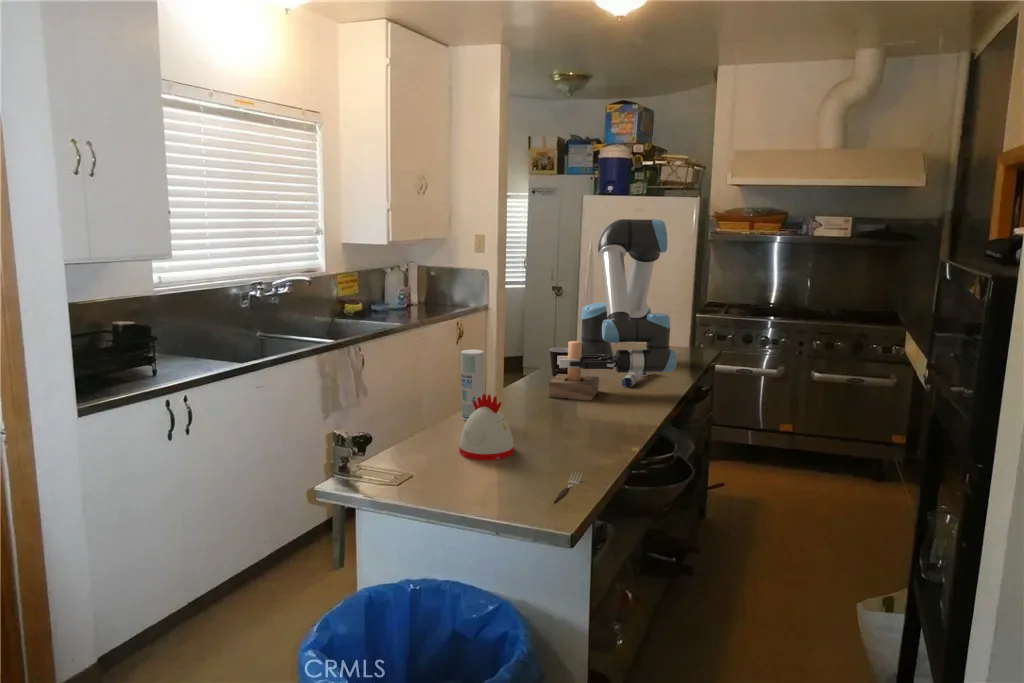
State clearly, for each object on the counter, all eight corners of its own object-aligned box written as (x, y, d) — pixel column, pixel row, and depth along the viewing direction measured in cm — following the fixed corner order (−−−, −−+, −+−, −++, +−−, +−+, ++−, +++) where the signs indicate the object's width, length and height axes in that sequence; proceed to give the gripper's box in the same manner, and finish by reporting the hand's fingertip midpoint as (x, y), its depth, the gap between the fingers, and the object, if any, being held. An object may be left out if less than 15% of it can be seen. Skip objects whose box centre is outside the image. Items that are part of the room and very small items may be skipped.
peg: (568, 387, 251) (569, 340, 248) (581, 388, 250) (582, 341, 247) (566, 390, 247) (567, 343, 244) (579, 391, 246) (580, 343, 243)
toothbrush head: (619, 376, 258) (640, 354, 279) (619, 394, 260) (640, 370, 281) (634, 378, 256) (654, 355, 277) (634, 396, 258) (654, 372, 279)
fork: (548, 504, 159) (548, 495, 158) (571, 478, 173) (572, 470, 173) (560, 505, 158) (560, 496, 157) (582, 480, 172) (582, 472, 172)
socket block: (557, 388, 257) (557, 373, 256) (598, 391, 253) (598, 376, 252) (549, 397, 244) (549, 382, 243) (591, 400, 241) (591, 385, 240)
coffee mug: (546, 378, 271) (546, 351, 269) (553, 373, 279) (554, 346, 277) (576, 381, 267) (577, 353, 265) (583, 376, 275) (584, 349, 273)
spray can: (488, 418, 220) (488, 351, 217) (472, 422, 216) (472, 354, 212) (472, 413, 225) (472, 348, 221) (456, 418, 220) (456, 351, 216)
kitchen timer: (494, 464, 182) (494, 404, 179) (448, 454, 189) (447, 396, 186) (523, 448, 193) (524, 392, 191) (479, 439, 201) (479, 385, 198)
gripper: (634, 378, 240) (561, 379, 238) (622, 366, 257) (554, 367, 255) (635, 355, 239) (562, 355, 237) (623, 345, 256) (555, 345, 254)
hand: (558, 361), depth 246 cm, fingers closed on peg, 4 cm apart
